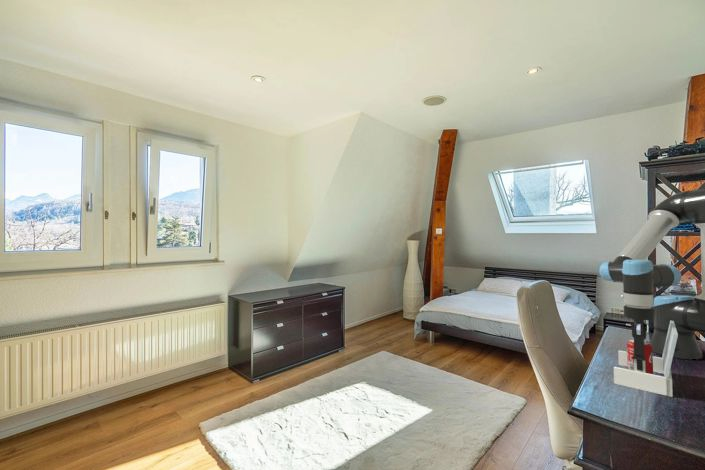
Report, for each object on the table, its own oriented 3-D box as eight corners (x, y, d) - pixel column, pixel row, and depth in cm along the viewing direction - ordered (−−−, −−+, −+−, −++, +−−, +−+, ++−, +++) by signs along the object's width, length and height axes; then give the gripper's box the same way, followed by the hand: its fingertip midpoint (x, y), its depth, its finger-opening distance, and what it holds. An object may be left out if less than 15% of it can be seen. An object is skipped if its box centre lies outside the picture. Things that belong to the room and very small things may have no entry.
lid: (662, 356, 110) (665, 357, 110) (664, 376, 94) (668, 377, 94) (670, 320, 109) (674, 321, 108) (674, 334, 93) (678, 335, 92)
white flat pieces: (669, 373, 109) (668, 358, 109) (672, 396, 93) (672, 379, 93) (618, 363, 118) (618, 350, 118) (613, 383, 102) (613, 367, 102)
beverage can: (658, 382, 102) (657, 344, 102) (635, 380, 103) (634, 343, 104) (644, 374, 108) (643, 338, 109) (623, 372, 110) (622, 337, 110)
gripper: (625, 300, 116) (626, 364, 116) (621, 309, 102) (623, 382, 101) (653, 303, 111) (655, 370, 110) (654, 312, 97) (656, 389, 96)
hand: (640, 376), depth 106 cm, fingers closed on beverage can, 6 cm apart
